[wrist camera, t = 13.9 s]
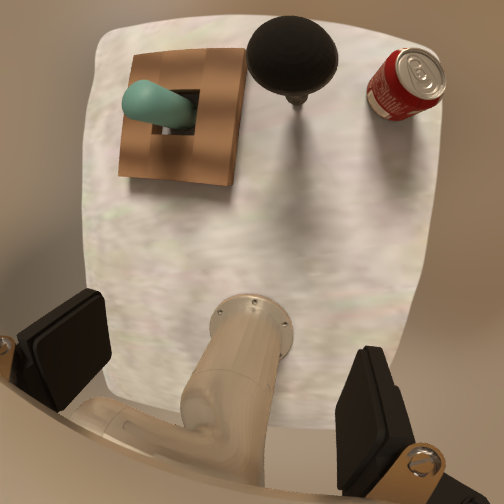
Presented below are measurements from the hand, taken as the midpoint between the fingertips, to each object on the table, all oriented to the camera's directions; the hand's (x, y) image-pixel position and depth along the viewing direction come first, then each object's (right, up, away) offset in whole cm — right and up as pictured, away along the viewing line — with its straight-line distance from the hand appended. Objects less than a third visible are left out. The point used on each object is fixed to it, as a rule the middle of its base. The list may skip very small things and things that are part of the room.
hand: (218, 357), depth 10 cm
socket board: (-8, +22, +27) cm, 36 cm away
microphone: (+7, +23, +24) cm, 34 cm away
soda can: (+19, +24, +22) cm, 37 cm away
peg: (-8, +22, +27) cm, 36 cm away
